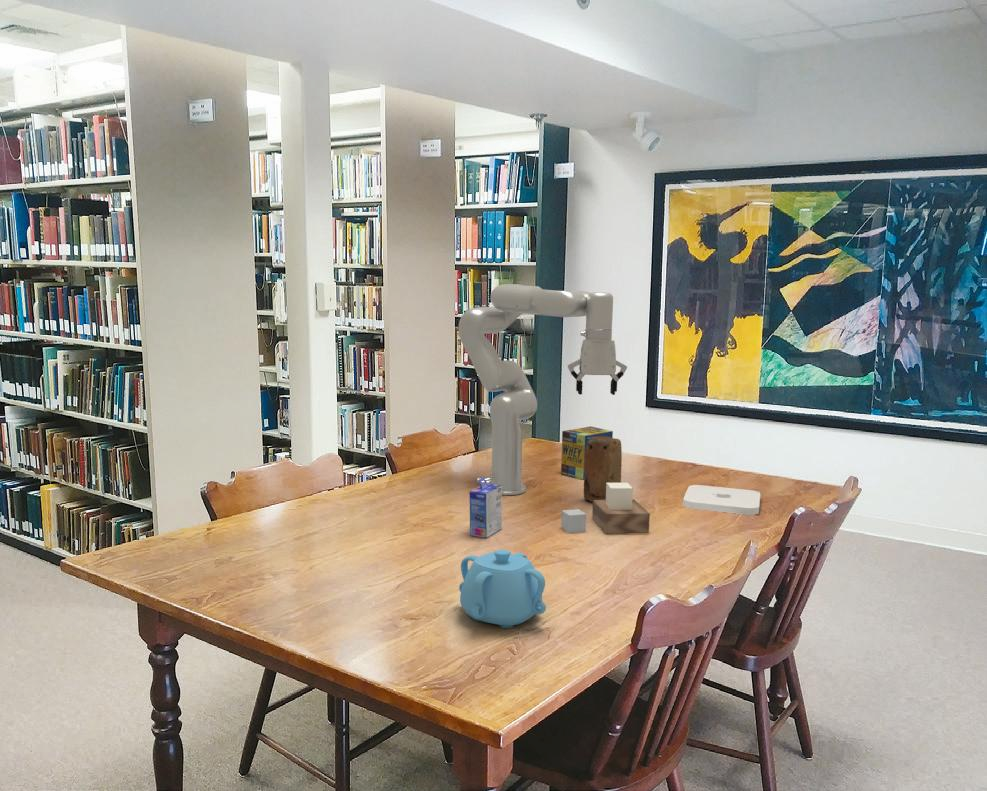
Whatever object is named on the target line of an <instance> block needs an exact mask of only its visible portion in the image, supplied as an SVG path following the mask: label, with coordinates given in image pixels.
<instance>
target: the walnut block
mask: <svg viewBox="0 0 987 791" xmlns="http://www.w3.org/2000/svg"><path fill="white" fill-rule="evenodd" d="M591 515H592V517H591V518H592V519H593V520H592V519H591V520H592V521H593V522H594V523H595V524H596V526H599V527H600V528H601V529H600V528H599V527H598V528H599V529H600V530H601V531H602V533H603V534H604V535H605V534H606V535H629V534H628V533H650V516H651V515H650V512H649V511H648V510H646V509H645V507H643V506H642V505H641V504H640V503H639V502H638V501H636V500H635V499H633V498H632V510H610V509H609V508H608V506H607V505H606V500H593V502H592V514H591ZM626 533H627V534H626Z"/></svg>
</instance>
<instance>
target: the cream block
mask: <svg viewBox="0 0 987 791" xmlns="http://www.w3.org/2000/svg"><path fill="white" fill-rule="evenodd" d="M633 493H634V491H633V486H631V485H630V484H629V482H621V483H606V505H607V506H608V508H609V509H610V510H632V499H633Z"/></svg>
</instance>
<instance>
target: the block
mask: <svg viewBox="0 0 987 791" xmlns="http://www.w3.org/2000/svg"><path fill="white" fill-rule="evenodd" d="M622 452H623V450H622V441H621V439H619V438H611V437H607V436H605V437H604V436H597V437H594V438H592V439H591V440H590V441H589V442H588V444H587V446H586V450H585V458H584V474H585V478H584V480H583V498H584V500H586V501H589V502H591V503H593V500H606V483H622V457H623V455H622Z"/></svg>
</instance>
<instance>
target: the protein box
mask: <svg viewBox="0 0 987 791" xmlns="http://www.w3.org/2000/svg"><path fill="white" fill-rule="evenodd" d="M613 434H614V431H613V430H609V429H605V428H600V427H595V426H592V425H591V426H586V427H584V426H583V427H579V428H573V429H568V430H562V435H561V436H562V437H561V459H560V461H561V463H560V464H561V466H560V467H561V468H560V475H562V474H563V475H562V476H565V477H566V476H567V477H570V476H571V477H570V478H574V477H575V478H574V479H578V478H579V479H578V480H581V479H582V481H584V480H583V479H584V478H585V474H584V458H585V450H586V446H587V444H588V442H589V441H590V440H591V439H592V438H594V437H597V436H604V437H605V436H607V437H611V438H613Z"/></svg>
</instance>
